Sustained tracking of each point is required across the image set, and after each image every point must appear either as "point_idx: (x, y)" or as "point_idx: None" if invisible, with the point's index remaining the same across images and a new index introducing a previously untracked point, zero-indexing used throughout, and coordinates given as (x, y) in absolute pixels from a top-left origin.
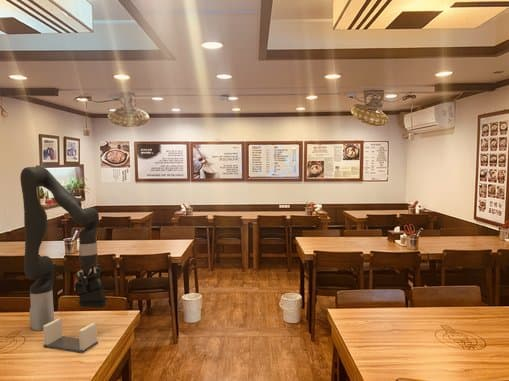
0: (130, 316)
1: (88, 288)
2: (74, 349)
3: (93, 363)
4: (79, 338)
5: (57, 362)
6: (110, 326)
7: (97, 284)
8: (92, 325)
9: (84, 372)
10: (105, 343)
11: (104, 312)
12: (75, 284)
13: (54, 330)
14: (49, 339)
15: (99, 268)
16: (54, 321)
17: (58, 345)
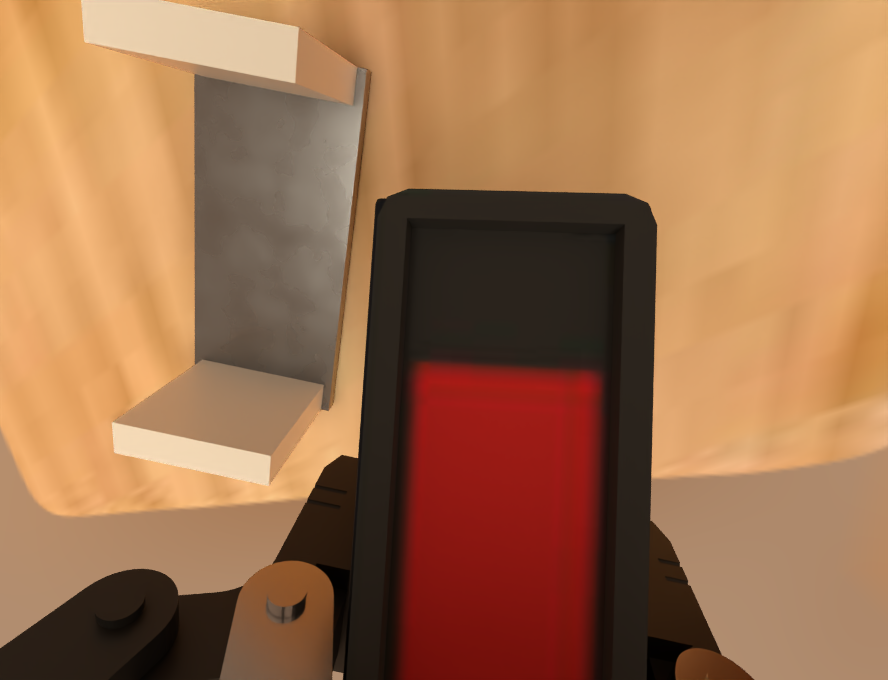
0: (784, 440)
1: None
2: (196, 324)
3: (131, 477)
4: (155, 394)
5: (75, 289)
6: None
7: None
8: (227, 475)
9: (52, 474)
10: (338, 445)
11: None
12: (382, 253)
13: (233, 77)
14: (204, 74)
15: None
16: (212, 45)
17: (215, 176)
